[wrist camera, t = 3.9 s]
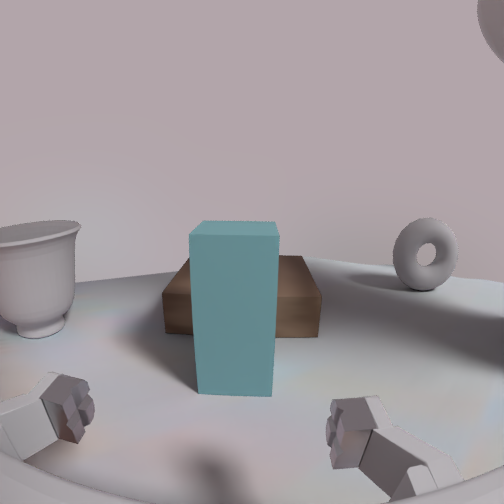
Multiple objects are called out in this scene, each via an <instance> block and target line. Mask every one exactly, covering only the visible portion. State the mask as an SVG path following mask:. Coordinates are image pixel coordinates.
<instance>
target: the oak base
mask: <svg viewBox="0 0 504 504" xmlns="http://www.w3.org/2000/svg"><path fill="white" fill-rule="evenodd" d="M162 299H163V310H164V320H165V330H166V333H175V334H191V335H194V334H193V318H192V301H191V281H190V257H189V259H188V260H187V261H186V263H185V264H184V265H183V266H182V268H181V269H180V270H179V271H178V273H177V274H176V275H175V277H174V278H173V279H172V281H171V282H170V283H169V284H168V286H167V287H166V288H165V290H164V291H163V292H162ZM321 301H322V296H321V294H320V292H319V290H318V288H317V286H316V284H315V282H314V280H313V278H312V276H311V274H310V272H309V269H308V267H307V265H306V263H305V261H304V259H303V257H302V256H283V255H279V264H278V289H277V311H276V331H275V337H318V330H319V321H320V311H321Z"/></svg>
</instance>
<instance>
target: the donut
mask: <svg viewBox="0 0 504 504" xmlns="http://www.w3.org/2000/svg"><path fill="white" fill-rule="evenodd" d="M426 243H432V244H433V245H434V246H435V248H436V257H435V259H434V260H433V262H432V263H431V264H429V265H427V266H421V265H419V264H418V262H417V252H418V250H419V248H420V247H421V246H422V245H424V244H426ZM457 260H458V244H457V240H456V236H455V235H454V233H453V232H452V230H451V229H450V227H449V226H447V225H446V224H445V223H443V222H442V221H440V220H437V219H433V218H423V219H418V220H416V221H414V222H412V223H410V224H409V225H408V226H406V227H405V228H404V229H403V230H402V231H401V233H400V235H399V236H398V238H397V240H396V242H395V246H394V249H393V264H394V267H395V270H396V273H397V275H398V277H399V278H400V279H401V281H402V282H403V283H404V284H406V285H408V286H409V287H411V288H412V289H417V290H422V291H423V290H430V289H434V288H436V287H438V286H440V285H442V284H443V283H444V282H445V281H446V280H447V279H448V278H449V277H450V276H451V274H452V272H453V271H454V269H455V266H456V263H457Z"/></svg>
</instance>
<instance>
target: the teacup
mask: <svg viewBox="0 0 504 504" xmlns="http://www.w3.org/2000/svg"><path fill="white" fill-rule="evenodd" d="M80 228H81V225H80V224H79V223H78V222H75V221H66V220H55V221H40V222H32V223H24V224H19V225H12V226H8V227H2V228H0V315H1V316H2V317H3V318H4V319H5V320H6V321H8V322H10V323H12V324H15V325H16V326H17V332H18V334H19V335H20V336H22V337H25V338H35V339H36V338H43V337H47V336H50V335H52V334H55V333H56V332H58V331H60V330H61V329H62V328H63V327H64V325H65V319H64V317H63V314H65V313H66V312H67V310H68V309H69V308H70V307H71V305H72V302H73V299H74V293H75V258H74V257H75V254H74V253H75V252H74V251H75V239H76V235H77V233H78V231H79V229H80Z"/></svg>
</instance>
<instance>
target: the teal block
mask: <svg viewBox="0 0 504 504" xmlns="http://www.w3.org/2000/svg"><path fill="white" fill-rule="evenodd" d="M279 237H280V236H279V233H278V230H277V227H276V223H275V222H257V221H203V222H202V223H201V224H200V225H199V226H197V228H195V229H194V230H193V231H192V232H191V233H190V234H189V253H190V281H191V301H192V318H193V334H194V348H195V361H196V373H197V384H198V394H211V395H230V396H269V397H272V383H273V367H274V349H275V331H276V311H277V289H278V264H279Z"/></svg>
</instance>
